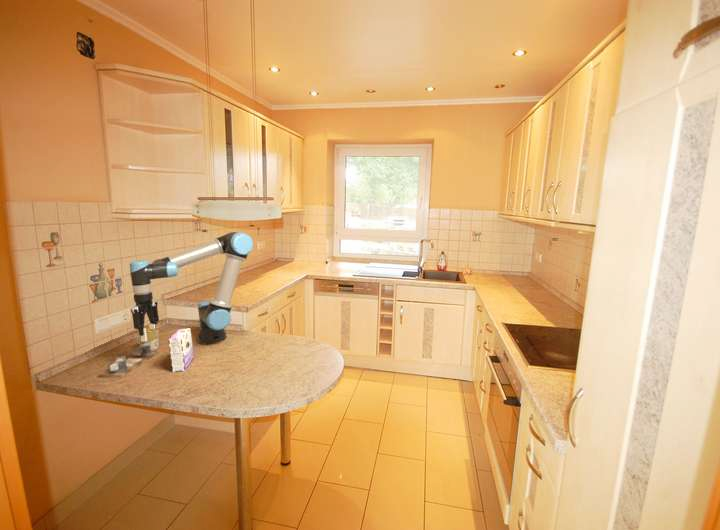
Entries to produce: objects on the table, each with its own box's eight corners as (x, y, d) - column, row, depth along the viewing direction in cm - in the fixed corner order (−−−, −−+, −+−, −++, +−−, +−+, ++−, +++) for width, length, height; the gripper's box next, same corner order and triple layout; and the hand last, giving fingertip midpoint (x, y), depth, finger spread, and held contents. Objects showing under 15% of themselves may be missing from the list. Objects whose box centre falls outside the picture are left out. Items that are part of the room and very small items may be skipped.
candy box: (182, 359, 171) (178, 328, 168) (194, 358, 172) (190, 327, 169) (171, 372, 157) (167, 339, 154) (185, 371, 158) (181, 337, 155)
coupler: (158, 338, 167) (156, 328, 166) (149, 342, 162) (148, 332, 161) (147, 337, 168) (146, 327, 167) (139, 341, 163) (137, 331, 162)
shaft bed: (138, 353, 180) (136, 342, 179) (158, 353, 180) (156, 342, 179) (98, 377, 155) (96, 364, 154) (121, 377, 154) (119, 364, 153)
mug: (155, 351, 182) (152, 333, 180) (132, 351, 182) (129, 334, 180) (164, 345, 190) (161, 328, 188) (142, 345, 190) (139, 328, 189)
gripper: (151, 288, 171) (156, 332, 175) (119, 297, 153) (126, 345, 157) (163, 288, 169) (169, 332, 173) (133, 297, 152) (140, 346, 156)
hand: (148, 338), depth 165 cm, fingers closed on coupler, 5 cm apart
